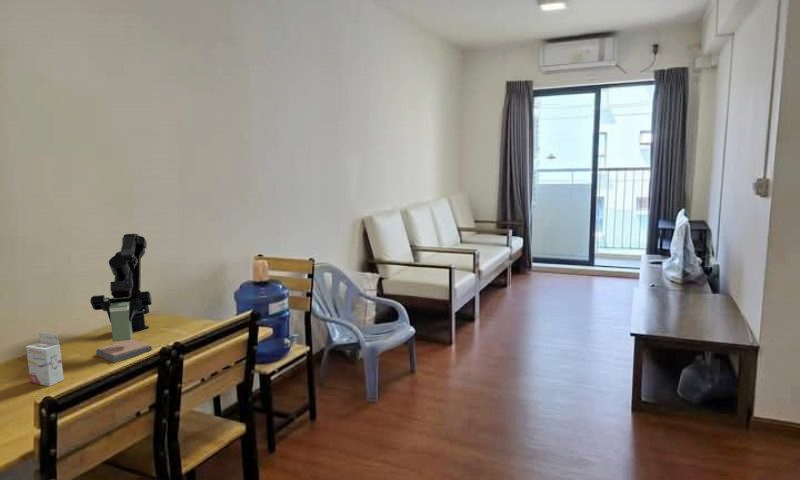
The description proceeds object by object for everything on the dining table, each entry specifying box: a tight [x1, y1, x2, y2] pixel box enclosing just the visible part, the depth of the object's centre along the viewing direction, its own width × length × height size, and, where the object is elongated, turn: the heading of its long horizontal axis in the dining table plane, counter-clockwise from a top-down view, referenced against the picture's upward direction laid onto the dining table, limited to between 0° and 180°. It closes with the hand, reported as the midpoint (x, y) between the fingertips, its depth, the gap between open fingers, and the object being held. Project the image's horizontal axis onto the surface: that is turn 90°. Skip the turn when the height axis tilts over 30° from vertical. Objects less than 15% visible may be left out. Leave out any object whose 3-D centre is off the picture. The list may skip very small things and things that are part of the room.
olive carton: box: [109, 302, 134, 343], centre depth 183 cm, size 6×5×12 cm
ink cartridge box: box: [25, 332, 65, 387], centre depth 160 cm, size 9×5×15 cm, turn 71°
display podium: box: [95, 338, 153, 364], centre depth 185 cm, size 13×13×2 cm
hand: (120, 321), depth 182 cm, fingers closed on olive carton, 5 cm apart
